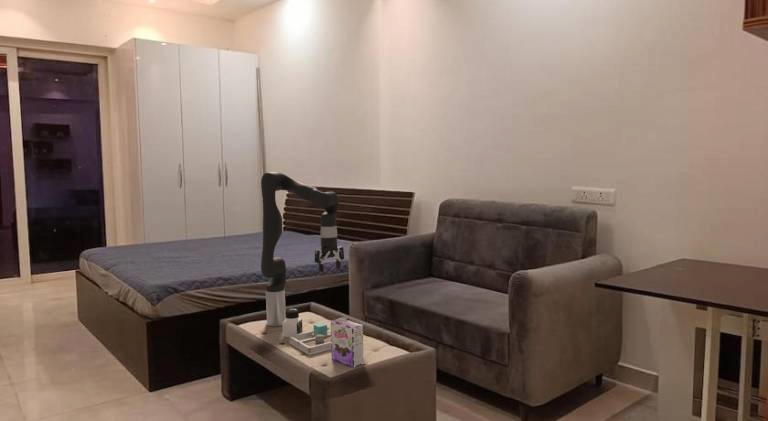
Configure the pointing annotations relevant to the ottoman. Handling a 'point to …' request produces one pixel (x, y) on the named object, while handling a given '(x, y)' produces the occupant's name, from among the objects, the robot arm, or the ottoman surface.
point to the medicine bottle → (292, 323)
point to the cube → (320, 329)
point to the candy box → (347, 342)
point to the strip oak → (330, 329)
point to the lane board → (306, 337)
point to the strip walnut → (318, 344)
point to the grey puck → (319, 339)
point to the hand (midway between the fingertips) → (329, 270)
